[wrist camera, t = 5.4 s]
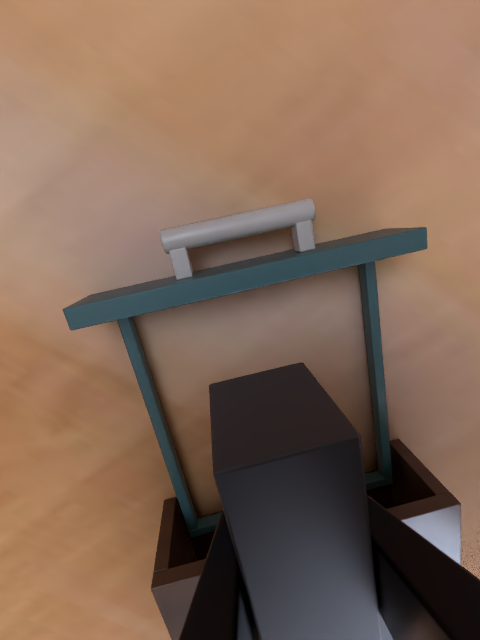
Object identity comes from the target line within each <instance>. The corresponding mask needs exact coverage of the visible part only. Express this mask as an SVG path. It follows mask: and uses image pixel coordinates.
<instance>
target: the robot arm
mask: <svg viewBox="0 0 480 640" xmlns="http://www.w3.org/2000/svg"><path fill="white" fill-rule="evenodd" d="M366 495H367V494H366ZM367 504H368V514H369V523H370V533H371V543H372V552H373V562H374V571H375V581H376V591H377V600H378V610H379V613H380V615H381V617H382V618H383V620H384V622H385V624H386V626H387V628H388V630H389V632H390V634H391V636H392V638H393V640H480V580H479V579H478V578H477V577H475V576H474V575H473V574H472V573H470V572H469V571H468V570H466V569H465V568H464V567H462V566H461V565H460V564H458V563H457V562H456V561H454V560H453V559H452V558H450V557H449V556H448V555H446V554H445V553H444V552H442V551H441V550H440V549H438V548H437V547H436V546H434V545H433V544H432V543H431V542H429V541H428V540H427V539H425V538H424V537H423V536H421V535H420V534H419V533H417V532H416V531H415V530H413V529H412V528H411V527H409V526H408V525H407V524H405V523H404V522H403V521H401V520H400V519H399V518H397V517H396V516H395V515H393V514H392V513H391V512H390V511H388V510H387V509H386V508H384V507H383V506H382V505H380V504H379V503H378V502H376V501H375V500H374V499H372V498H371V497H370V496H368V495H367ZM179 640H259V635H258V631H257V628H256V624H255V621H254V617H253V613H252V610H251V606H250V603H249V599H248V596H247V592H246V589H245V585H244V581H243V578H242V574H241V571H240V567H239V564H238V560H237V557H236V553H235V549H234V546H233V542H232V539H231V535H230V532H229V528H228V525H227V521H226V517H225V514H224V511H222V513H221V515H220V518H219V521H218V524H217V527H216V530H215V533H214V536H213V539H212V542H211V545H210V548H209V551H208V554H207V557H206V560H205V563H204V566H203V568H202V571H201V574H200V577H199V580H198V583H197V586H196V589H195V592H194V595H193V598H192V601H191V604H190V607H189V610H188V613H187V616H186V619H185V622H184V625H183V628H182V631H181V634H180V637H179Z"/></svg>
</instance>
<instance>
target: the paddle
mask: <svg viewBox="0 0 480 640" xmlns="http://www.w3.org/2000/svg"><path fill="white" fill-rule="evenodd" d="M209 394H210V416H211V437H212V459H213V475H214V478H215V482H216V485H217V489H218V493H219V496H220V500H221V503H222V507H223V510H224V514H225V517H226V521H227V525H228V528H229V532H230V535H231V539H232V542H233V546H234V549H235V553H236V557H237V560H238V564H239V567H240V571H241V574H242V578H243V581H244V585H245V589H246V592H247V596H248V599H249V603H250V606H251V610H252V613H253V617H254V621H255V624H256V628H257V631H258V635H259V640H393V638H392V636H391V634H390V632H389V630H388V628H387V626H386V624H385V622H384V620H383V618H382V617H381V615H380V613H379V610H378V600H377V591H376V581H375V571H374V562H373V552H372V543H371V533H370V523H369V514H368V504H367V495H366V485H365V475H364V466H363V456H362V447H361V437H360V434H359V433H358V432H357V430H356V429H355V428H354V427H353V425H352V424H351V423H350V422H349V420H348V419H347V418H346V417H345V415H344V414H343V413H342V411H341V410H340V409H339V408H338V406H337V405H336V404H335V403H334V401H333V400H332V399H331V398H330V396H329V395H328V394H327V392H326V391H325V390H324V389H323V387H322V386H321V385H320V384H319V382H318V381H317V380H316V378H315V377H314V376H313V375H312V373H311V372H310V371H309V370H308V368H307V367H306V366H305V365H304V363H302V362H300V363H296V364H292V365H288V366H283V367H279V368H275V369H271V370H267V371H263V372H259V373H254V374H250V375H246V376H242V377H238V378H234V379H230V380H225V381H221V382H217V383H213V384H210V386H209Z"/></svg>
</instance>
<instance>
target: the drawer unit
mask: <svg viewBox="0 0 480 640" xmlns="http://www.w3.org/2000/svg"><path fill="white" fill-rule="evenodd" d="M390 454H391V466H392V478H393V483H392V492H393V504H394V507H392V508H388V509H387V510H388V511H390V512H391V513H392V514H393V515H395V516H396V517H397V518H399V519H400V520H401V521H403V522H404V523H405V524H407V525H408V526H409V527H411V528H412V529H413V530H415V531H416V532H417V533H419V534H420V535H421V536H423V537H424V538H425V539H427V540H428V541H429V542H431V543H432V544H433V545H434V546H436V547H437V548H438V549H440V550H441V551H442V552H444V553H445V554H446V555H448V556H449V557H450V558H452V559H453V560H454V561H456V562H457V563H458V564H460V565H461V504H460V502H459V501H458V500H457V499H456V498H455V497H454V496H453V495H452V494H451V493H450V492H449V491H448V490H447V489H446V488H445V487H444V486H443V485H442V483H441V482H440V481H439V480H438V479H437V478H436V477H435V476H434V475H433V474H432V473H431V472H430V471H429V470H428V469H427V468H426V467H425V466H424V465H423V464H422V463H421V462H420V461H419V459H418V458H417V457H416V456H415V455H414V454H413V453H412V452H411V451H410V450H409V449H408V448H407V447H406V446H405V445H404V444H403V443H402V442H401V441H400V440H399V439H396V440H393V441H390ZM205 560H206V559H203V560H199V561H197V559H196V556H195V553H194V550H193V547H192V544H191V541H190V539H189V536H188V533H187V530H186V527H185V524H184V521H183V518H182V515H181V512H180V509H179V506H178V503H177V500H176V498H172V499H168V500H164V505H163V512H162V518H161V525H160V532H159V539H158V545H157V552H156V559H155V565H154V573H153V579H152V585H151V591H152V593H153V595H154V598H155V600H156V603H157V605H158V607H159V610H160V612H161V615H162V617H163V619H164V622H165V624H166V627H167V629H168V631H169V634H170V636H171V639H172V640H179V637H180V634H181V631H182V628H183V625H184V622H185V619H186V616H187V613H188V610H189V607H190V604H191V601H192V598H193V595H194V592H195V589H196V586H197V583H198V580H199V577H200V574H201V571H202V568H203V566H204V563H205Z"/></svg>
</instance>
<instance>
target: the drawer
mask: <svg viewBox="0 0 480 640" xmlns="http://www.w3.org/2000/svg"><path fill="white" fill-rule="evenodd" d="M314 220H315V206H314V203H313V201H312V199H310V198H308V199H303V200H299V201H294V202H289V203H285V204H280V205H275V206H271V207H266V208H261V209H257V210H252V211H248V212H243V213H238V214H234V215H229V216H224V217H220V218H215V219H210V220H206V221H201V222H196V223H192V224H187V225H183V226H178V227H173V228H169V229H164V230H161V231H160V237H161V242H162V245H163V248H164V251H165V252H166V254H170V257H171V261H172V265H173V268H174V272H175V276H173V277H168V278H164V279H159V280H155V281H150V282H146V283H141V284H137V285H132V286H128V287H123V288H119V289H115V290H110V291H106V292H101V293H97V294H92V295H89V296H87V297H85V298H83V299H81V300H80V301H78V302H76V303H74V304H72V305H70V306H68V307H66V308H64V309H63V312H64V314H65V317H66V320H67V322H68V325H69V327H70V330H76V329H80V328H84V327H89V326H93V325H98V324H102V323H106V322H111V321H115V320H117V321H118V324H119V327H120V330H121V333H122V336H123V339H124V342H125V345H126V348H127V351H128V354H129V357H130V360H131V363H132V366H133V369H134V372H135V375H136V377H137V380H138V383H139V386H140V389H141V392H142V395H143V398H144V401H145V404H146V407H147V410H148V413H149V416H150V419H151V422H152V425H153V428H154V431H155V434H156V436H157V439H158V442H159V445H160V448H161V451H162V454H163V457H164V460H165V463H166V466H167V469H168V472H169V475H170V478H171V481H172V484H173V487H174V490H175V493H176V496H177V498H178V501H179V504H180V507H181V510H182V513H183V516H184V519H185V522H186V525H187V528H188V531H189V534H190V537H195V536H198V535H202V534H206V533H209V532H213V531H215V530H216V527H217V524H218V521H219V518H220V515H221V513H222V512H221V513H217V514H214V515H210V516H206V517H202V518H199V519H197V516H196V513H195V510H194V507H193V503H192V500H191V497H190V494H189V491H188V488H187V485H186V482H185V479H184V476H183V472H182V469H181V466H180V463H179V460H178V457H177V454H176V451H175V448H174V445H173V442H172V438H171V435H170V432H169V429H168V426H167V423H166V420H165V417H164V414H163V411H162V407H161V404H160V401H159V398H158V395H157V392H156V389H155V386H154V383H153V380H152V376H151V373H150V370H149V367H148V364H147V361H146V358H145V355H144V352H143V349H142V346H141V342H140V339H139V336H138V333H137V330H136V327H135V324H134V321H133V318H132V316H137V315H141V314H145V313H150V312H154V311H159V310H163V309H167V308H172V307H176V306H180V305H185V304H189V303H193V302H198V301H202V300H207V299H211V298H215V297H220V296H224V295H228V294H233V293H237V292H241V291H246V290H250V289H254V288H259V287H263V286H268V285H272V284H276V283H281V282H285V281H289V280H294V279H298V278H302V277H307V276H311V275H315V274H320V273H324V272H329V271H333V270H337V269H342V268H346V267H350V266H355V265H359V273H360V283H361V293H362V304H363V314H364V324H365V335H366V345H367V356H368V366H369V376H370V387H371V397H372V407H373V418H374V428H375V439H376V449H377V459H378V471H375V472H371V473H367V474H364V475H365V485H366V490H369V489H372V488H376V487H380V486H383V485H387V484H391V483H393V478H392V466H391V454H390V441H389V429H388V417H387V404H386V392H385V380H384V367H383V355H382V343H381V330H380V318H379V306H378V293H377V281H376V269H375V261H377V260H381V259H385V258H390V257H394V256H398V255H403V254H407V253H411V252H416V251H420V250H424V249H427V228H426V227H419V228H393V229H382V230H378V231H373V232H369V233H364V234H360V235H356V236H351V237H347V238H342V239H338V240H333V241H329V242H324V243H320V244H315V240H314V233H313V226H312V222H313V221H314ZM288 227H291V230H292V236H293V243H294V249H293V250H289V251H284V252H280V253H275V254H271V255H266V256H262V257H257V258H253V259H248V260H244V261H240V262H235V263H231V264H226V265H222V266H217V267H213V268H208V269H204V270H199V271H195V272H193V269H192V265H191V261H190V257H189V253H188V249H192V248H197V247H202V246H206V245H211V244H215V243H220V242H224V241H229V240H233V239H238V238H242V237H247V236H252V235H256V234H261V233H265V232H270V231H274V230H279V229H283V228H288Z"/></svg>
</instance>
